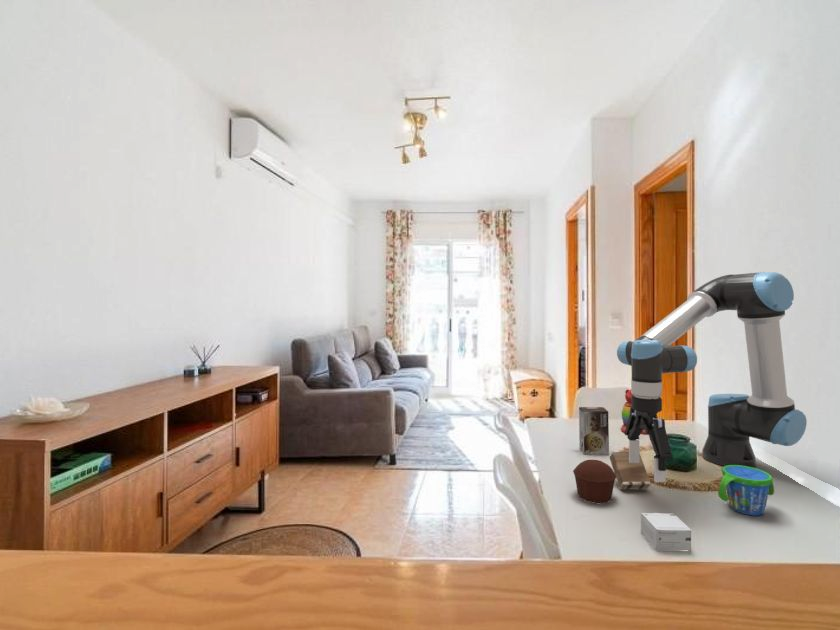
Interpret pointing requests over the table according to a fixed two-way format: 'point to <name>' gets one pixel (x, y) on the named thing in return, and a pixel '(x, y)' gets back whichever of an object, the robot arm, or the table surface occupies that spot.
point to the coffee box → (593, 430)
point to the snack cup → (746, 488)
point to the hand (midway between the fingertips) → (646, 471)
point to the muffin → (594, 481)
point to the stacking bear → (627, 411)
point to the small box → (665, 531)
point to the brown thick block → (629, 472)
